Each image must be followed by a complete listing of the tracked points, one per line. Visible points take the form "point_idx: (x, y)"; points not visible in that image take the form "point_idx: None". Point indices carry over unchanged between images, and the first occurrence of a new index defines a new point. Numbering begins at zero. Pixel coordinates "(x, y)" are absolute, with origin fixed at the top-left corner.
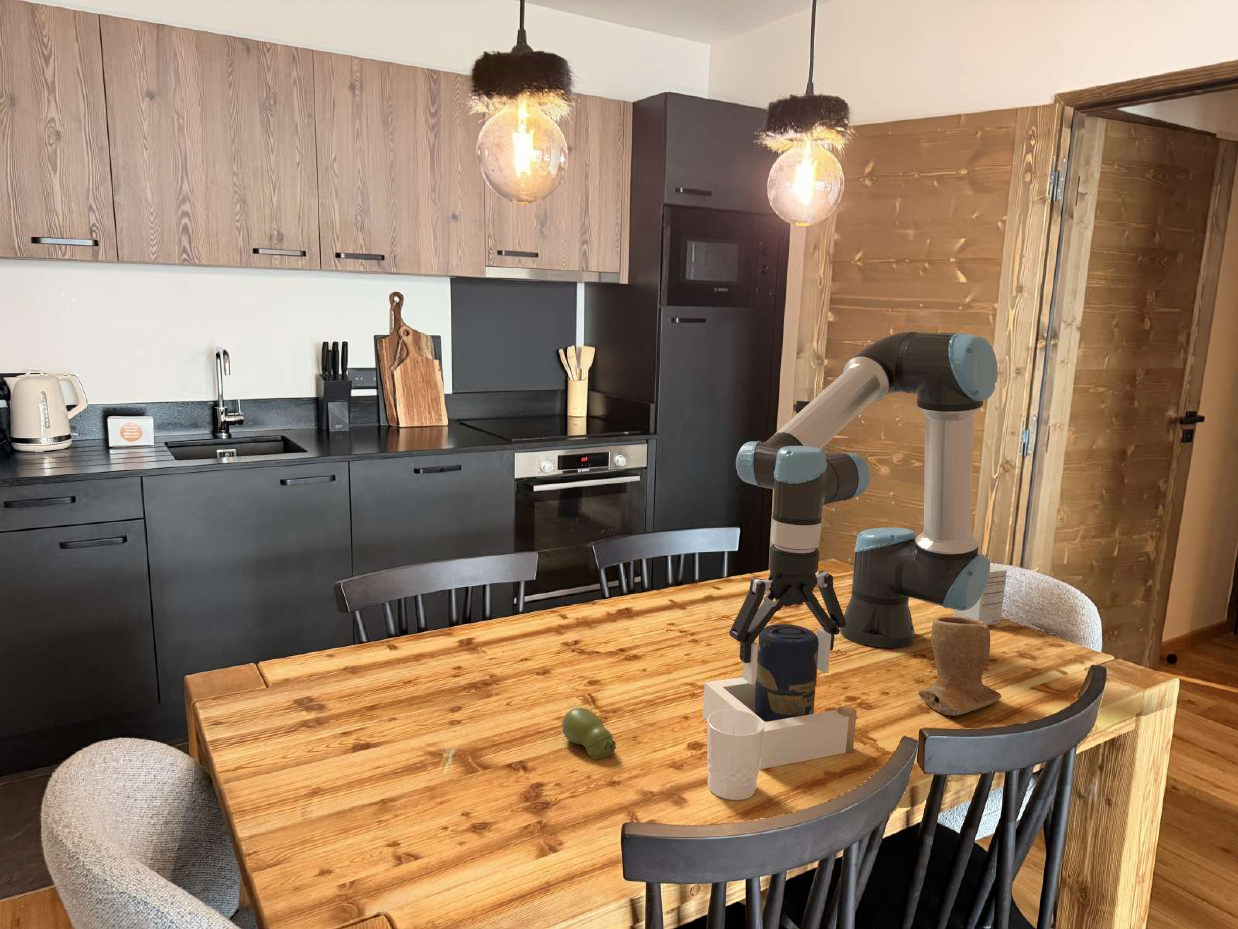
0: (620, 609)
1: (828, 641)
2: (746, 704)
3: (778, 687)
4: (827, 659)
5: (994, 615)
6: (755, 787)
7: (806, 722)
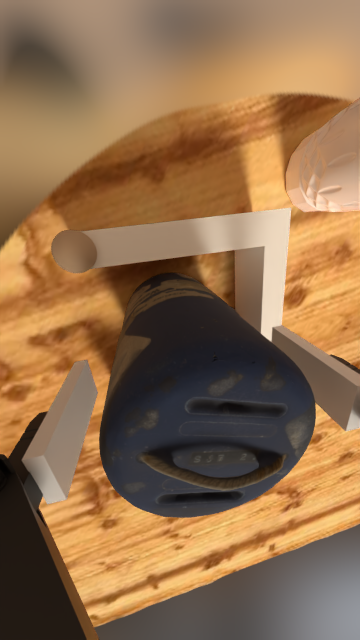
0: (215, 565)
1: (47, 431)
2: None
3: (231, 307)
4: (69, 383)
5: None
6: (300, 145)
7: (188, 226)
